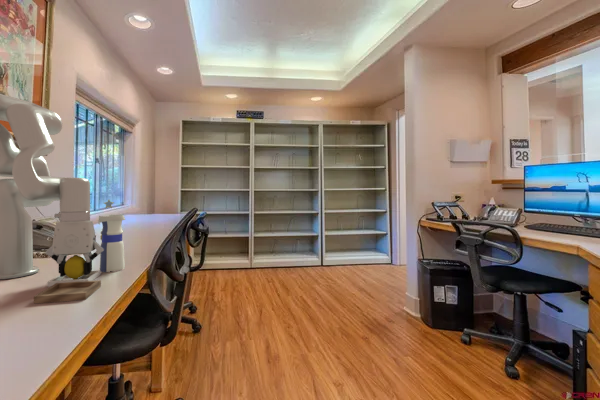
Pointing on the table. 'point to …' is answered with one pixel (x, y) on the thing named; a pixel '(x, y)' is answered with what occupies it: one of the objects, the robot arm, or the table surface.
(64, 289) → the tray
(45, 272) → the table surface
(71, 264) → the lemon
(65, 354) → the table surface
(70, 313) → the table surface
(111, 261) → the water bottle
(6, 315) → the table surface
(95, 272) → the frame
